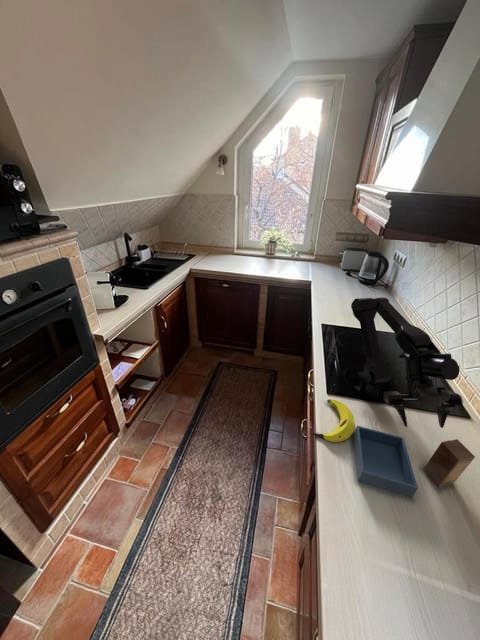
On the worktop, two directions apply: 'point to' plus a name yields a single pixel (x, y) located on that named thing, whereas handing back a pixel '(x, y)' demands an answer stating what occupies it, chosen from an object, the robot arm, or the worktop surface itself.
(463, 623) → the worktop surface
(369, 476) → the blue tray
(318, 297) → the worktop surface
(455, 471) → the brown wooden block
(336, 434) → the banana
